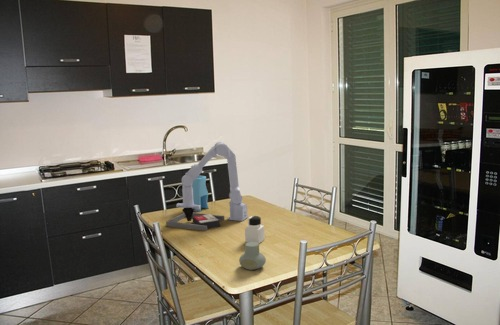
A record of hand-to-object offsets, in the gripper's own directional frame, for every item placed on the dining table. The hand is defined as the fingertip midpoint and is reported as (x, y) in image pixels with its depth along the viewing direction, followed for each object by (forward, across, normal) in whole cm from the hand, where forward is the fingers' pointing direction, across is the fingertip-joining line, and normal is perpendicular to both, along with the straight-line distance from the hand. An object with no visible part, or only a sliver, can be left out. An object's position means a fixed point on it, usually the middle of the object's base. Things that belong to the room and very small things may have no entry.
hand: (189, 220), depth 253 cm
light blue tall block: (+1, -8, +25) cm, 26 cm away
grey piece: (+1, +5, 0) cm, 5 cm away
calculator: (+2, +11, 0) cm, 11 cm away
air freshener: (+1, +59, -44) cm, 73 cm away
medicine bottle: (+1, +47, -15) cm, 49 cm away
